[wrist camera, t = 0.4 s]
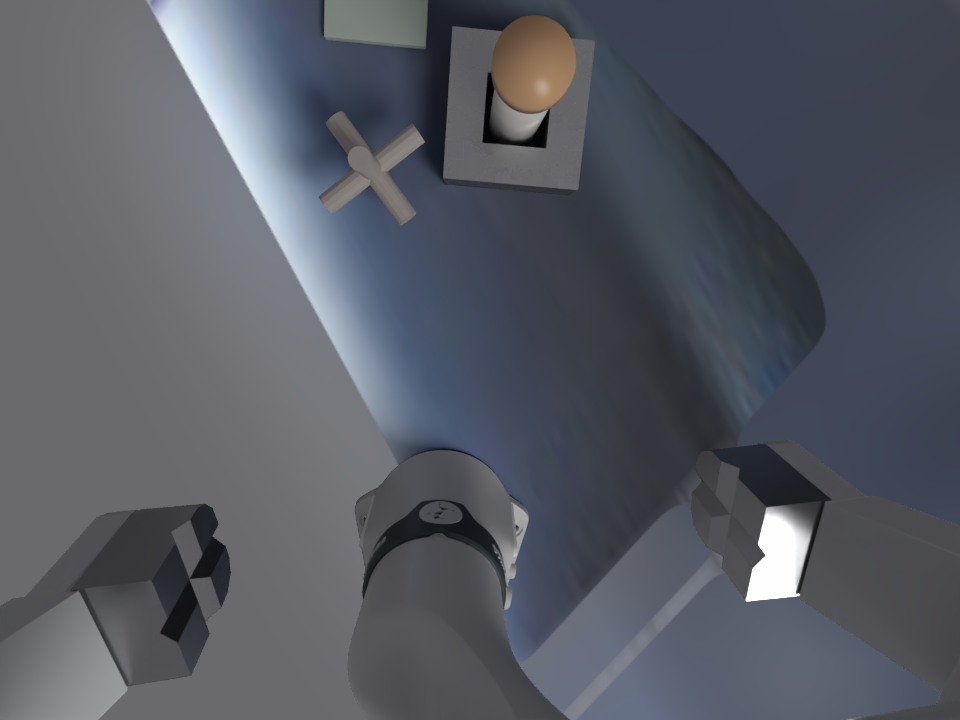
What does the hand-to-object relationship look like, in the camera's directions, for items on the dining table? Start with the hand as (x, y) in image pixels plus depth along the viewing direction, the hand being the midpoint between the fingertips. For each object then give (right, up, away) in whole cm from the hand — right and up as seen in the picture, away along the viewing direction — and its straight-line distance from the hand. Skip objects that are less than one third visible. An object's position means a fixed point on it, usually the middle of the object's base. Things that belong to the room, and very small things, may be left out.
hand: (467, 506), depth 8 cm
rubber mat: (-9, +35, +36) cm, 51 cm away
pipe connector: (-9, +20, +39) cm, 45 cm away
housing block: (+3, +25, +38) cm, 46 cm away
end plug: (+3, +25, +38) cm, 46 cm away
